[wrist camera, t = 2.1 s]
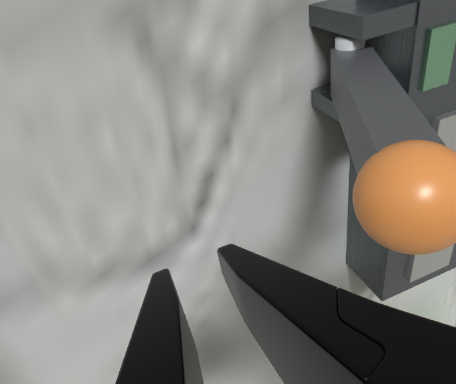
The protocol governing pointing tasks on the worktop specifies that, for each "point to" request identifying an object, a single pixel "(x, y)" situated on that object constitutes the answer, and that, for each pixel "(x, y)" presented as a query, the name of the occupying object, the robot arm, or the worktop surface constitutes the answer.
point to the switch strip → (418, 92)
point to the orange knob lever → (392, 155)
